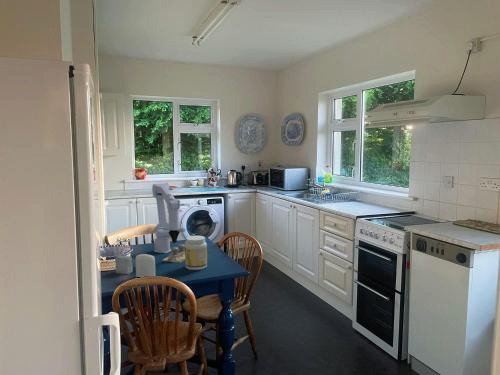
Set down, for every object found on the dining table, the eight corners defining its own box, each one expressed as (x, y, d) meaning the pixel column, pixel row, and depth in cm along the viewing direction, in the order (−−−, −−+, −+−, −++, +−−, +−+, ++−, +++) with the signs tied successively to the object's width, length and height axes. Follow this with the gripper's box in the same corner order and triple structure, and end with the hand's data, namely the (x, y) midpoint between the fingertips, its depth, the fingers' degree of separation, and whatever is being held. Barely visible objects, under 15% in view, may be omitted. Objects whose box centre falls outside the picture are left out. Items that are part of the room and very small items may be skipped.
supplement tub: (181, 266, 214) (180, 237, 212) (200, 262, 222) (199, 234, 220) (192, 272, 204) (191, 241, 203) (211, 267, 212) (210, 238, 210)
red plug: (182, 249, 238) (182, 242, 238) (186, 247, 242) (186, 241, 242) (188, 250, 236) (188, 243, 236) (192, 248, 240) (192, 241, 240)
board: (162, 260, 225) (162, 254, 225) (183, 251, 246) (183, 245, 245) (179, 262, 221) (179, 256, 220) (199, 252, 241) (199, 247, 240)
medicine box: (133, 271, 206) (132, 256, 205) (127, 274, 202) (127, 258, 201) (120, 270, 209) (120, 255, 208) (115, 273, 205) (114, 257, 204)
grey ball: (176, 252, 232) (176, 245, 231) (180, 250, 236) (180, 243, 235) (182, 253, 230) (182, 246, 229) (186, 251, 234) (186, 244, 234)
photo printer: (156, 276, 198) (155, 253, 197) (153, 279, 194) (152, 256, 193) (139, 275, 201) (137, 252, 199) (134, 278, 196) (133, 255, 195)
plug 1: (169, 255, 225) (169, 248, 225) (173, 253, 229) (173, 246, 229) (175, 256, 224) (175, 249, 223) (180, 254, 228) (179, 247, 227)
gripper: (159, 220, 223) (160, 243, 225) (180, 222, 218) (181, 245, 219) (166, 218, 230) (167, 240, 231) (187, 220, 224) (187, 242, 226)
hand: (174, 242), depth 226 cm, fingers closed
